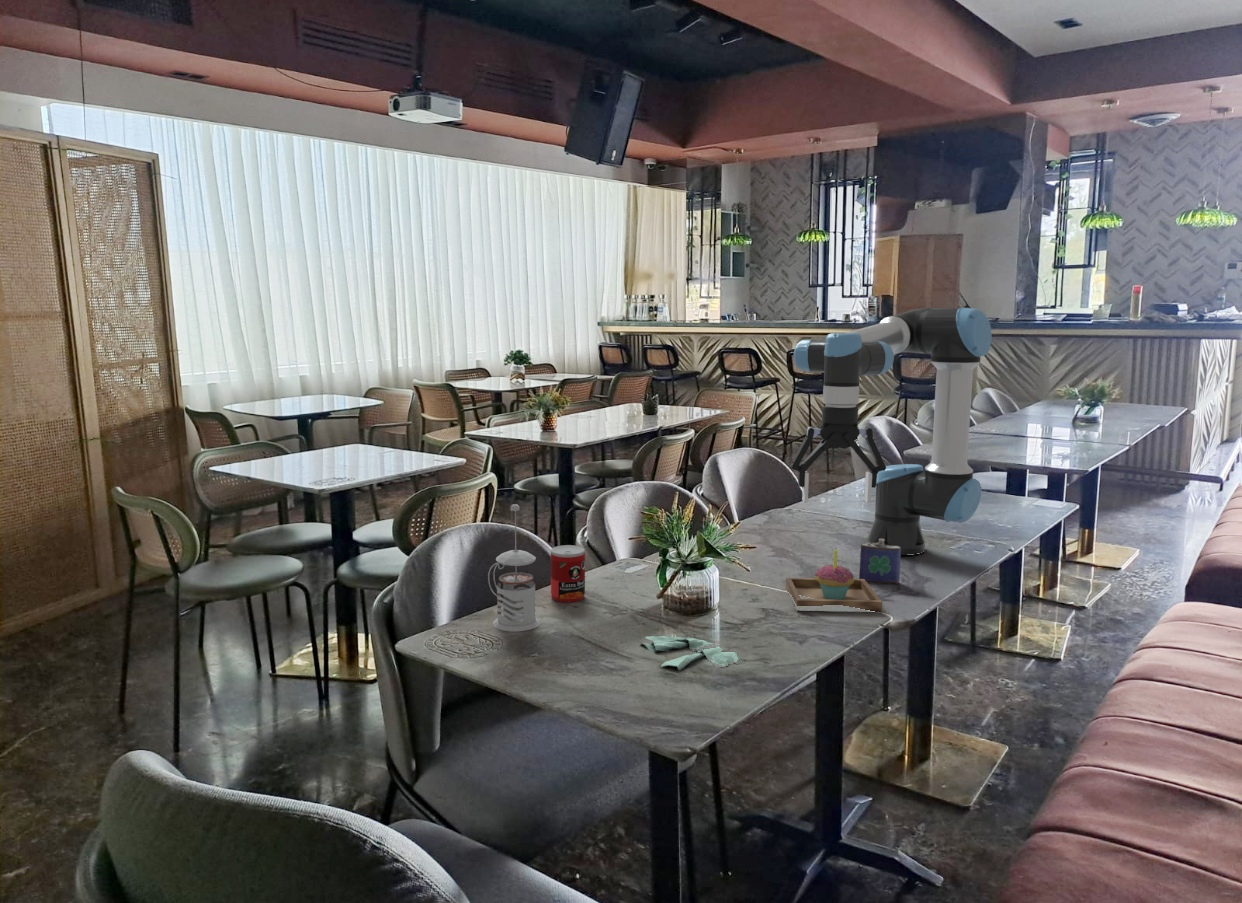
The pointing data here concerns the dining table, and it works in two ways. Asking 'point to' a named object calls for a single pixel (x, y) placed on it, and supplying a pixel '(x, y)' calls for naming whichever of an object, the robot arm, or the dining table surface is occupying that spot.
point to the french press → (515, 591)
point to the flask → (880, 563)
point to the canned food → (567, 573)
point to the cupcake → (834, 580)
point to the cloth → (680, 643)
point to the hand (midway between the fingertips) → (836, 501)
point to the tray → (855, 597)
